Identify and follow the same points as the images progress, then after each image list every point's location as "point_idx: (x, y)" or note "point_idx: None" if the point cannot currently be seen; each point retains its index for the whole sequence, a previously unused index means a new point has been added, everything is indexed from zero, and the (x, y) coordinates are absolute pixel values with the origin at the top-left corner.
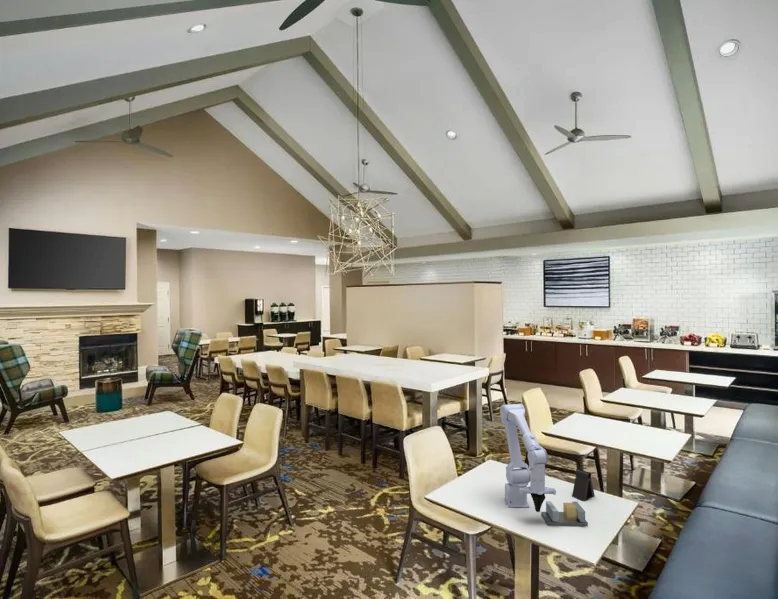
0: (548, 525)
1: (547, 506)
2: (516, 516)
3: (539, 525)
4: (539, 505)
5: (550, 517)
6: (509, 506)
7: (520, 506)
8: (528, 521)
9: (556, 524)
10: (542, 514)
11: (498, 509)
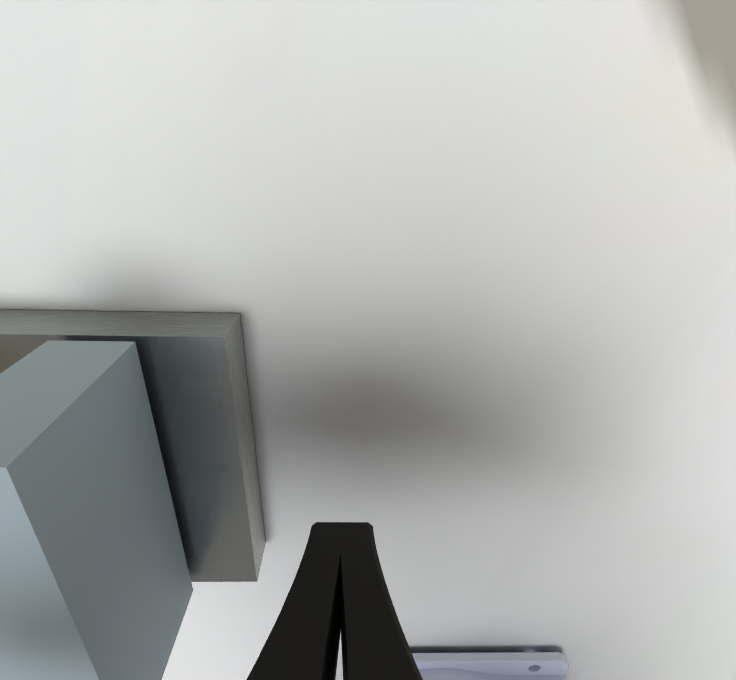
0: (230, 315)
1: (141, 647)
2: (569, 512)
3: (362, 321)
4: (315, 646)
5: (157, 447)
6: (558, 658)
7: (445, 660)
8: (475, 416)
9: (99, 318)
10: (255, 534)
11: (684, 617)
